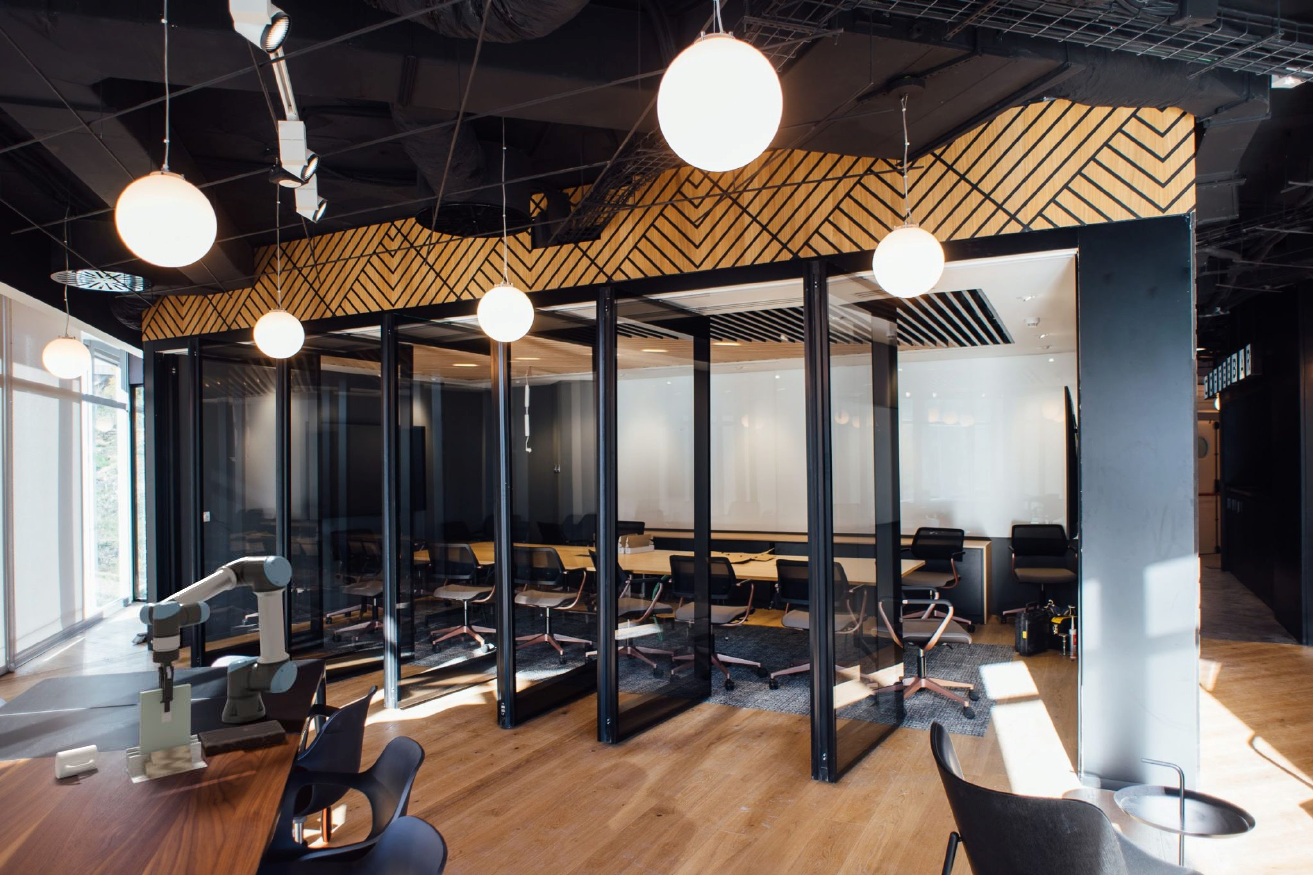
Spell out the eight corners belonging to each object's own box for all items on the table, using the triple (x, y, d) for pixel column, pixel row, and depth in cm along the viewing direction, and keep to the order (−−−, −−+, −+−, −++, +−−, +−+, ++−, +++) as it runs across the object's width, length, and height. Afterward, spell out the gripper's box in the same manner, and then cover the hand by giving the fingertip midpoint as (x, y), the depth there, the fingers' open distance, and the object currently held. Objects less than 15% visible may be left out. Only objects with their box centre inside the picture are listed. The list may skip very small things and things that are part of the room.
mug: (54, 775, 244) (55, 750, 245) (92, 766, 251) (93, 742, 252) (61, 784, 236) (62, 758, 236) (100, 775, 243) (101, 750, 243)
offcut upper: (187, 754, 249) (187, 744, 249) (190, 758, 245) (190, 748, 245) (151, 762, 242) (151, 752, 243) (153, 766, 239) (153, 756, 239)
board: (189, 743, 256) (189, 683, 257) (190, 745, 254) (190, 684, 255) (139, 754, 246) (140, 692, 247) (140, 756, 244) (141, 693, 246)
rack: (196, 755, 259) (196, 734, 260) (207, 769, 246) (207, 747, 246) (125, 770, 246) (126, 748, 247) (133, 786, 233) (133, 763, 233)
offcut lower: (188, 762, 249) (188, 753, 250) (191, 766, 246) (191, 757, 246) (145, 772, 241) (145, 763, 242) (147, 776, 238) (147, 767, 238)
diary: (285, 744, 270) (285, 730, 271) (205, 761, 255) (205, 746, 256) (275, 731, 285) (275, 717, 285) (198, 746, 270) (198, 732, 270)
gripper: (149, 647, 255) (148, 718, 254) (156, 654, 244) (155, 728, 242) (175, 643, 260) (174, 713, 259) (183, 650, 249) (183, 723, 247)
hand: (165, 720), depth 251 cm, fingers closed on board, 2 cm apart
